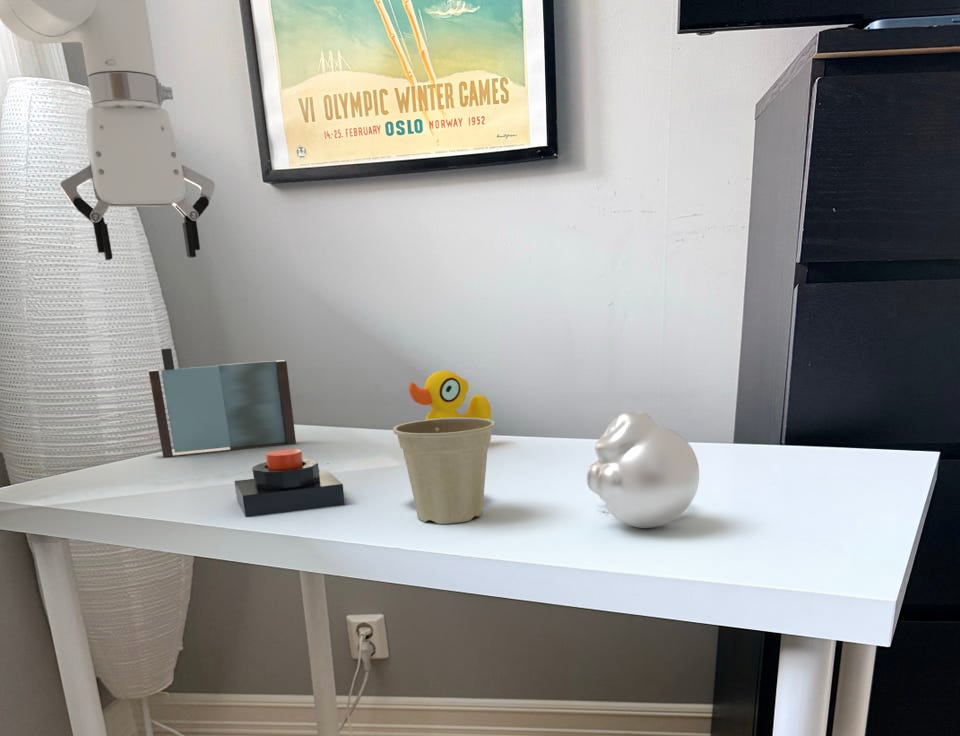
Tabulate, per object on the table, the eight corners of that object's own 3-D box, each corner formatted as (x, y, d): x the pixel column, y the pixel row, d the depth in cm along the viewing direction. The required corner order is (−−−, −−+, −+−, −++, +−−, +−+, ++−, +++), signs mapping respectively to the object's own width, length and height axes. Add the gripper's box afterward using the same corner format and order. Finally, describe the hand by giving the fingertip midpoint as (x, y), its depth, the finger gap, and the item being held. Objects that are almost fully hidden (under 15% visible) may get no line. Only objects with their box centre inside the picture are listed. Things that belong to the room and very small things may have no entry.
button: (270, 474, 93) (268, 456, 93) (265, 468, 96) (263, 451, 96) (306, 470, 94) (304, 452, 94) (300, 464, 97) (298, 447, 97)
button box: (245, 517, 92) (239, 477, 90) (237, 501, 99) (231, 463, 97) (345, 505, 95) (341, 466, 93) (329, 490, 102) (326, 453, 100)
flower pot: (382, 516, 90) (374, 425, 86) (464, 500, 94) (460, 413, 91) (432, 535, 82) (425, 437, 79) (518, 517, 87) (515, 423, 84)
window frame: (165, 468, 119) (148, 371, 114) (164, 465, 121) (148, 370, 116) (297, 454, 124) (286, 360, 119) (295, 451, 126) (284, 359, 121)
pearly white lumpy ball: (606, 510, 87) (606, 402, 84) (706, 517, 84) (711, 403, 80) (574, 535, 80) (572, 418, 76) (683, 543, 76) (687, 420, 72)
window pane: (174, 452, 118) (157, 349, 114) (174, 451, 120) (157, 348, 115) (230, 447, 121) (216, 345, 116) (229, 445, 122) (215, 344, 117)
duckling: (423, 456, 118) (417, 375, 114) (405, 451, 122) (399, 372, 118) (500, 445, 123) (497, 367, 119) (480, 440, 127) (477, 365, 123)
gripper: (198, 105, 112) (218, 257, 119) (44, 101, 106) (74, 261, 113) (207, 93, 106) (228, 255, 112) (43, 88, 100) (75, 259, 106)
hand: (150, 258), depth 112 cm, fingers open, 9 cm apart
